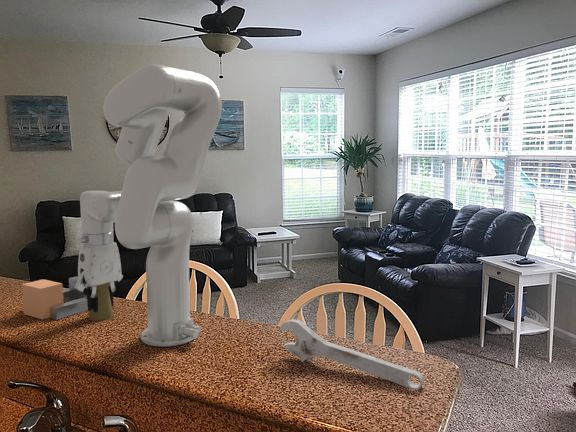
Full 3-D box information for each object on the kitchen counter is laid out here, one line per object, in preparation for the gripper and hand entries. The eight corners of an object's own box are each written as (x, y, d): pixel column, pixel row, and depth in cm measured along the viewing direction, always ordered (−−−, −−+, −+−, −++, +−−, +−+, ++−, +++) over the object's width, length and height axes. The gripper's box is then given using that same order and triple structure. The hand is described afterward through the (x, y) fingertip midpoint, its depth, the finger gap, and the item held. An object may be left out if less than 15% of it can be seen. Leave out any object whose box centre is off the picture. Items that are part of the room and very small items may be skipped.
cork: (117, 317, 124) (115, 275, 122) (94, 322, 119) (92, 279, 118) (107, 311, 128) (105, 271, 126) (84, 316, 124) (82, 275, 122)
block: (63, 313, 126) (62, 283, 125) (42, 319, 121) (40, 288, 120) (45, 307, 130) (43, 279, 129) (23, 313, 125) (21, 284, 124)
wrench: (418, 406, 86) (276, 353, 100) (420, 401, 88) (280, 350, 102) (425, 365, 85) (280, 317, 99) (427, 361, 86) (284, 315, 100)
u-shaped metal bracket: (108, 303, 135) (108, 282, 134) (56, 320, 121) (55, 297, 120) (77, 296, 142) (76, 276, 141) (24, 310, 128) (23, 289, 127)
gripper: (78, 245, 112) (82, 320, 114) (134, 236, 126) (136, 302, 129) (58, 242, 116) (62, 315, 118) (114, 233, 130) (117, 298, 132)
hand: (100, 308), depth 123 cm, fingers closed on cork, 4 cm apart
